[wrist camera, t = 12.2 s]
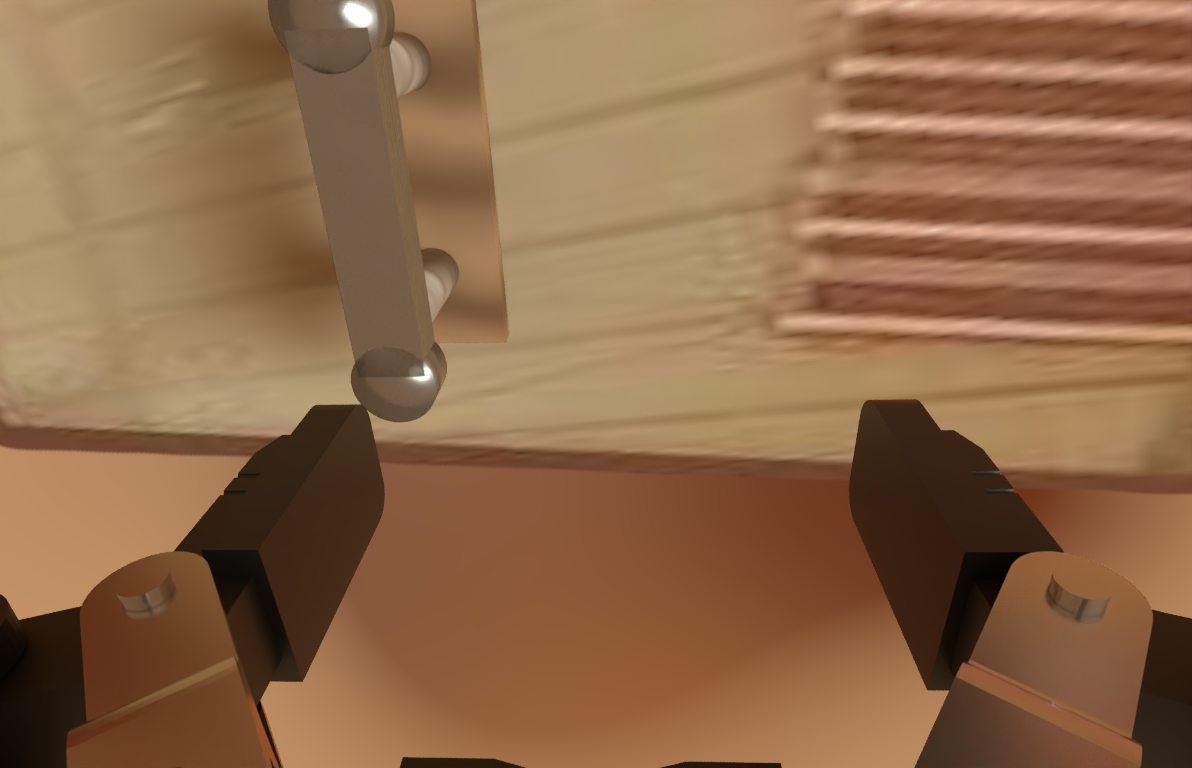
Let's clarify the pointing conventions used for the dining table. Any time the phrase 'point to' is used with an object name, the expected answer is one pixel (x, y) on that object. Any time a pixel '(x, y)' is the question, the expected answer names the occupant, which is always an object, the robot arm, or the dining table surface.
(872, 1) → the dining table surface
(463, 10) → the peg stand
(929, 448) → the robot arm
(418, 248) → the grey knobbed bar
